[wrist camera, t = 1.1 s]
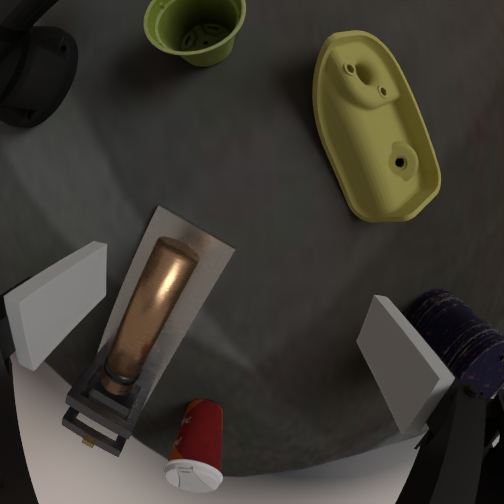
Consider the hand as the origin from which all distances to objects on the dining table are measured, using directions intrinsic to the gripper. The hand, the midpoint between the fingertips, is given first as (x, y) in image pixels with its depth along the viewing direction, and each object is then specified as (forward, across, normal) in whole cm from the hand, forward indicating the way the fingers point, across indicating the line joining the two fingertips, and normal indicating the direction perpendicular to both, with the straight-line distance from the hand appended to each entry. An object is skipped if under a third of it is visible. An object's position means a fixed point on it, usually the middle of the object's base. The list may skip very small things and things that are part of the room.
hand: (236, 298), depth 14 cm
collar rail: (+21, -11, -17) cm, 29 cm away
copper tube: (+16, -9, -12) cm, 22 cm away
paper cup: (+21, -1, -30) cm, 37 cm away
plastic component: (+21, +12, +13) cm, 28 cm away
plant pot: (+21, -8, +19) cm, 30 cm away
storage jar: (+20, +28, -9) cm, 36 cm away
